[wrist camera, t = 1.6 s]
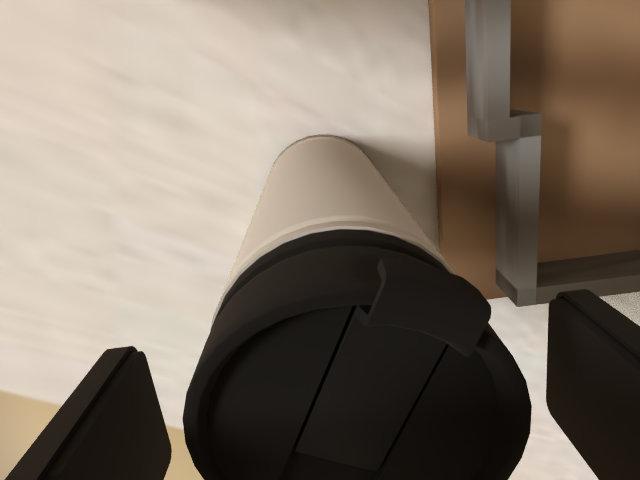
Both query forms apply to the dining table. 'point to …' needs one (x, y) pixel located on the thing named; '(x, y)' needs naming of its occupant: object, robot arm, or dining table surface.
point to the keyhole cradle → (538, 144)
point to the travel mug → (350, 343)
